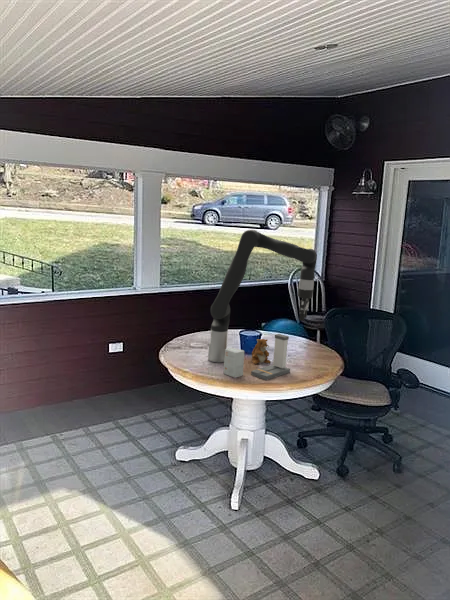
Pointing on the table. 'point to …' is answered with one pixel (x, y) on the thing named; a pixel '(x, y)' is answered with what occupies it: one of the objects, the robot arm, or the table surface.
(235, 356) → the small box
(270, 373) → the fader panel
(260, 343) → the stuffed squirrel
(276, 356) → the grey tall block
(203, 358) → the table surface
